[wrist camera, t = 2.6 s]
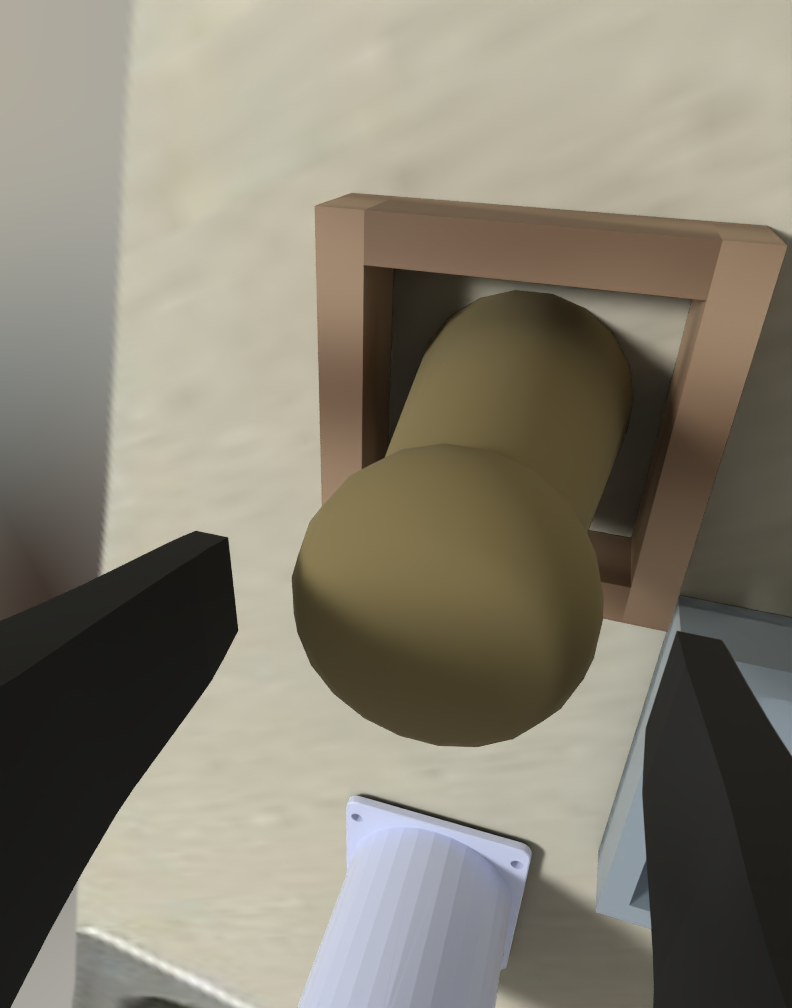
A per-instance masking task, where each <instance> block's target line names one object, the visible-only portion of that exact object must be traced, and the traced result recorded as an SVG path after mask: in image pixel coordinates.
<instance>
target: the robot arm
mask: <svg viewBox="0 0 792 1008" xmlns="http://www.w3.org/2000/svg"><path fill="white" fill-rule="evenodd" d="M237 632H238V624H237V615H236V605H235V596H234V587H233V578H232V569H231V560H230V551H229V542H228V537H223V536H218V535H214V534H209V533H204V532H199V531H194V532H192V533H189V534H187V535H185V536H182V537H180V538H178V539H176V540H173V541H171V542H169V543H167V544H165V545H163V546H161V547H159V548H157V549H155V550H153V551H151V552H149V553H146V554H144V555H142V556H140V557H138V558H136V559H134V560H132V561H130V562H128V563H126V564H124V565H122V566H120V567H118V568H116V569H114V570H112V571H110V572H108V573H106V574H104V575H102V576H100V577H98V578H95V579H93V580H91V581H89V582H87V583H86V584H83V585H81V586H79V587H77V588H75V589H72V590H70V591H68V592H66V593H64V594H61V595H59V596H57V597H54V598H53V599H50V600H48V601H46V602H43V603H41V604H39V605H37V606H34V607H32V608H30V609H27V610H25V611H23V612H21V613H18V614H16V615H14V616H11V617H9V618H7V619H4V620H2V621H0V1008H11V1005H12V1003H13V1001H14V999H15V998H16V996H17V993H18V992H19V990H20V988H21V986H22V984H23V982H24V980H25V978H26V976H27V974H28V972H29V970H30V968H31V967H32V964H33V963H34V961H35V959H36V957H37V955H38V953H39V951H40V949H41V947H42V945H43V943H44V941H45V939H46V937H47V935H48V933H49V932H50V930H51V928H52V926H53V924H54V922H55V921H56V919H57V917H58V915H59V913H60V911H61V910H62V908H63V906H64V904H65V903H66V900H67V899H68V897H69V895H70V893H71V892H72V890H73V888H74V886H75V884H76V883H77V881H78V879H79V877H80V875H81V874H82V872H83V870H84V868H85V867H86V865H87V863H88V862H89V860H90V858H91V856H92V855H93V853H94V851H95V850H96V848H97V846H98V844H99V843H100V841H101V839H102V838H103V836H104V834H105V833H106V831H107V829H108V827H109V826H110V824H111V822H112V821H113V819H114V817H115V816H116V814H117V812H118V811H119V809H120V808H121V806H122V805H123V803H124V802H125V800H126V799H127V798H128V796H129V795H130V793H131V792H132V790H133V789H134V787H135V786H136V784H137V783H138V782H139V780H140V779H141V778H142V776H143V775H144V773H145V772H146V771H147V769H148V768H149V767H150V765H151V764H152V762H153V761H154V760H155V758H156V757H157V756H158V754H159V753H160V752H161V750H162V749H163V747H164V746H165V745H166V743H167V742H168V741H169V739H170V738H171V736H172V735H173V734H174V732H175V731H176V730H177V728H178V727H179V725H180V724H181V723H182V721H183V720H184V719H185V717H186V716H187V714H188V713H189V712H190V710H191V709H192V707H193V706H194V705H195V703H196V702H197V700H198V699H199V698H200V696H201V695H202V693H203V692H204V691H205V689H206V688H207V686H208V685H209V683H210V682H211V681H212V679H213V677H214V675H215V673H216V672H217V670H218V668H219V666H220V664H221V663H222V661H223V659H224V657H225V655H226V653H227V651H228V649H229V647H230V645H231V644H232V642H233V640H234V638H235V636H236V634H237ZM642 799H643V816H644V831H645V846H646V860H647V875H648V889H649V903H650V917H651V931H652V946H653V974H654V1003H653V1008H792V755H791V754H790V752H789V751H788V749H787V748H786V746H785V745H784V743H783V742H782V740H781V738H780V737H779V735H778V734H777V732H776V731H775V729H774V727H773V726H772V724H771V722H770V721H769V719H768V717H767V716H766V714H765V712H764V711H763V709H762V707H761V706H760V704H759V702H758V701H757V699H756V697H755V696H754V694H753V692H752V690H751V689H750V687H749V685H748V684H747V682H746V680H745V678H744V677H743V675H742V673H741V671H740V669H739V668H738V666H737V664H736V662H735V661H734V659H733V657H732V655H731V653H730V652H729V650H728V648H727V647H726V645H725V644H724V642H723V641H722V640H720V639H715V638H710V637H705V636H701V635H696V634H691V633H686V632H681V631H676V635H675V638H674V641H673V644H672V647H671V650H670V653H669V656H668V660H667V663H666V666H665V669H664V672H663V675H662V678H661V681H660V685H659V688H658V691H657V694H656V697H655V700H654V703H653V706H652V710H651V713H650V716H649V719H648V722H647V725H646V729H645V746H644V763H643V785H642ZM531 855H532V852H531V849H530V848H529V847H528V846H527V845H526V844H524V843H521V842H518V841H514V840H511V839H507V838H504V837H500V836H497V835H493V834H490V833H486V832H483V831H479V830H476V829H472V828H469V827H465V826H462V825H458V824H455V823H452V822H448V821H445V820H441V819H438V818H434V817H431V816H427V815H424V814H420V813H417V812H413V811H410V810H406V809H403V808H399V807H396V806H392V805H389V804H385V803H382V802H378V801H375V800H372V799H368V798H365V797H361V796H352V797H351V798H350V799H349V801H348V804H347V875H346V878H345V880H344V883H343V886H342V888H341V891H340V894H339V896H338V899H337V902H336V904H335V907H334V910H333V912H332V915H331V918H330V921H329V923H328V926H327V929H326V931H325V934H324V937H323V939H322V942H321V945H320V947H319V950H318V953H317V956H316V958H315V961H314V964H313V966H312V969H311V972H310V974H309V977H308V980H307V982H306V985H305V988H304V991H303V993H302V996H301V999H300V1001H299V1004H298V1007H297V1008H495V1004H496V997H497V991H498V984H499V978H500V971H501V970H503V969H505V968H506V967H507V962H508V958H509V954H510V949H511V945H512V940H513V936H514V932H515V927H516V923H517V919H518V914H519V910H520V905H521V901H522V897H523V892H524V888H525V883H526V879H527V875H528V870H529V866H530V862H531Z"/></svg>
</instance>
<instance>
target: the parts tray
mask: <svg viewBox="0 0 792 1008" xmlns="http://www.w3.org/2000/svg"><path fill="white" fill-rule="evenodd" d="M676 631H681V632H686V633H691V634H696V635H701V636H705V637H710V638H715V639H720V640H722V641H723V642H724V644H725V645H726V647H727V648H728V650H729V652H730V653H731V655H732V657H733V659H734V661H735V662H736V664H737V666H738V668H739V669H740V671H741V673H742V675H743V677H744V678H745V680H746V682H747V684H748V685H749V687H750V689H751V690H752V692H753V694H754V696H755V697H756V699H757V701H758V702H759V704H760V706H761V707H762V709H763V711H764V712H765V714H766V716H767V717H768V719H769V721H770V722H771V724H772V726H773V727H774V729H775V731H776V732H777V734H778V735H779V737H780V738H781V740H782V742H783V743H784V745H785V746H786V748H787V749H788V751H789V752H790V754H791V755H792V618H791V617H786V616H781V615H776V614H771V613H766V612H761V611H755V610H750V609H745V608H740V607H735V606H730V605H725V604H720V603H715V602H710V601H704V600H699V599H694V598H689V597H684V596H679V597H678V600H677V603H676V606H675V609H674V613H673V616H672V619H671V622H670V626H669V629H668V632H666V635H665V639H664V642H663V645H662V648H661V651H660V655H659V658H658V661H657V664H656V668H655V671H654V674H653V677H652V680H651V684H650V687H649V690H648V693H647V697H646V700H645V703H644V706H643V709H642V713H641V716H640V719H639V722H638V726H637V729H636V732H635V735H634V739H633V742H632V745H631V748H630V751H629V755H628V758H627V761H626V764H625V768H624V771H623V774H622V777H621V780H620V784H619V787H618V790H617V793H616V797H615V800H614V803H613V806H612V809H611V813H610V816H609V819H608V822H607V826H606V829H605V832H604V835H603V839H602V842H601V845H600V848H599V852H598V872H597V891H596V911H595V912H597V913H600V914H603V915H607V916H610V917H613V918H617V919H620V920H623V921H627V922H630V923H633V924H636V925H640V926H643V927H646V928H650V929H651V917H650V903H649V889H648V875H647V860H646V846H645V831H644V816H643V799H642V785H643V763H644V746H645V729H646V725H647V722H648V719H649V716H650V713H651V710H652V706H653V703H654V700H655V697H656V694H657V691H658V688H659V685H660V681H661V678H662V675H663V672H664V669H665V666H666V663H667V660H668V656H669V653H670V650H671V647H672V644H673V641H674V638H675V635H676Z"/></svg>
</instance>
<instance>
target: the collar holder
mask: <svg viewBox="0 0 792 1008" xmlns="http://www.w3.org/2000/svg"><path fill="white" fill-rule="evenodd" d="M315 238H316V279H317V320H318V361H319V403H320V444H321V485H322V506H323V505H324V504H325V503H326V501H327V500H328V499H329V498H330V497H331V496H332V495H333V494H334V493H335V491H336V490H337V489H338V488H339V487H340V486H341V485H342V484H343V482H344V481H345V480H346V479H347V478H348V477H349V476H350V475H352V474H354V473H356V472H358V471H360V470H362V469H364V468H366V467H367V466H369V465H371V464H373V463H375V462H377V461H379V460H381V459H383V458H385V455H386V453H387V450H388V431H389V399H390V367H391V336H392V304H393V272H394V268H397V269H407V270H416V271H426V272H436V273H445V274H455V275H465V276H474V277H484V278H494V279H503V280H513V281H523V282H532V283H542V284H552V285H561V286H571V287H581V288H590V289H600V290H610V291H619V292H629V293H639V294H648V295H658V296H668V297H677V298H687V299H692V301H691V305H690V309H689V313H688V317H687V321H686V325H685V329H684V333H683V337H682V341H681V345H680V349H679V353H678V357H677V361H676V364H675V368H674V372H673V376H672V380H671V384H670V388H669V392H668V396H667V400H666V404H665V408H664V412H663V416H662V420H661V424H660V428H659V432H658V436H657V440H656V444H655V448H654V452H653V456H652V459H651V463H650V467H649V471H648V475H647V479H646V483H645V487H644V491H643V495H642V499H641V503H640V507H639V511H638V515H637V519H636V523H635V527H634V531H633V535H632V538H628V537H622V536H617V535H611V534H606V533H600V532H594V531H589V530H588V532H587V534H588V536H589V538H590V541H591V543H592V546H593V548H594V551H595V553H596V556H597V562H598V567H599V573H600V579H601V584H602V590H603V596H604V603H603V619H608V620H613V621H618V622H623V623H627V624H632V625H637V626H642V627H647V628H651V629H656V630H661V631H666V632H668V629H669V626H670V622H671V619H672V616H673V613H674V609H675V606H676V603H677V600H678V597H679V593H680V590H681V587H682V584H683V581H684V577H685V574H686V571H687V568H688V564H689V561H690V558H691V555H692V552H693V548H694V545H695V542H696V539H697V535H698V532H699V529H700V526H701V523H702V519H703V516H704V513H705V510H706V507H707V503H708V500H709V497H710V494H711V490H712V487H713V484H714V481H715V478H716V474H717V471H718V468H719V465H720V462H721V458H722V455H723V452H724V449H725V445H726V442H727V439H728V436H729V433H730V429H731V426H732V423H733V420H734V416H735V413H736V410H737V407H738V404H739V400H740V397H741V394H742V391H743V388H744V384H745V381H746V378H747V375H748V371H749V368H750V365H751V362H752V359H753V355H754V352H755V349H756V346H757V343H758V339H759V336H760V333H761V330H762V326H763V323H764V320H765V317H766V314H767V310H768V307H769V304H770V301H771V298H772V294H773V291H774V288H775V285H776V281H777V278H778V275H779V272H780V269H781V265H782V262H783V259H784V256H785V252H786V249H787V245H786V244H785V243H784V242H783V241H782V240H781V239H780V238H779V237H778V236H777V235H776V234H775V233H774V232H773V231H772V230H771V229H770V228H769V227H768V226H763V225H750V224H738V223H725V222H712V221H700V220H687V219H674V218H662V217H649V216H636V215H623V214H611V213H598V212H585V211H573V210H560V209H547V208H535V207H522V206H509V205H497V204H484V203H471V202H459V201H446V200H433V199H420V198H408V197H395V196H382V195H370V194H357V193H350V194H347V195H345V196H342V197H339V198H336V199H333V200H330V201H327V202H325V203H322V204H319V205H316V206H315Z"/></svg>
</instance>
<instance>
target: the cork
mask: <svg viewBox="0 0 792 1008" xmlns="http://www.w3.org/2000/svg"><path fill="white" fill-rule="evenodd" d="M633 399H634V398H633V391H632V383H631V376H630V368H629V364H628V362H627V360H626V358H625V356H624V354H623V352H622V351H621V349H620V347H619V345H618V343H617V341H616V339H615V337H614V335H613V334H612V333H611V332H610V331H609V330H608V329H607V328H606V327H605V326H604V325H603V324H602V323H601V322H599V321H598V320H597V319H596V318H595V317H594V316H593V315H592V314H591V313H590V312H589V311H588V310H587V309H585V308H583V307H580V306H578V305H576V304H574V303H571V302H569V301H567V300H565V299H562V298H560V297H558V296H556V295H554V294H548V293H538V292H528V291H518V290H514V291H510V292H505V293H501V294H496V295H492V296H487V297H483V298H480V299H478V300H476V301H475V302H473V303H471V304H470V305H468V306H466V307H464V308H463V309H461V310H459V311H458V312H456V313H454V314H453V315H451V316H450V317H449V318H448V320H447V321H446V322H445V323H444V324H443V325H442V327H441V328H440V329H439V330H438V331H437V332H436V334H435V335H434V336H433V337H432V338H431V340H430V341H429V343H428V346H427V348H426V351H425V353H424V356H423V358H422V361H421V363H420V366H419V369H418V371H417V374H416V376H415V379H414V382H413V384H412V387H411V390H410V392H409V395H408V397H407V400H406V403H405V405H404V408H403V411H402V413H401V416H400V418H399V421H398V424H397V426H396V429H395V432H394V434H393V437H392V440H391V442H390V445H389V447H388V450H387V453H386V455H385V458H383V459H381V460H379V461H377V462H375V463H373V464H371V465H369V466H367V467H366V468H364V469H362V470H360V471H358V472H356V473H354V474H352V475H350V476H349V477H348V478H347V479H346V480H345V481H344V482H343V484H342V485H341V486H340V487H339V488H338V489H337V490H336V491H335V493H334V494H333V495H332V496H331V497H330V498H329V499H328V500H327V501H326V503H325V504H324V505H323V506H322V507H321V509H320V510H319V511H318V512H317V513H316V515H315V516H314V517H313V518H312V520H311V521H310V523H309V525H308V528H307V531H306V534H305V537H304V540H303V543H302V546H301V549H300V552H299V555H298V558H297V561H296V565H295V568H294V572H293V575H292V589H293V606H294V617H295V622H296V627H297V632H298V635H299V637H300V640H301V642H302V644H303V647H304V649H305V652H306V654H307V657H308V659H309V661H310V664H311V666H312V667H313V668H314V669H315V671H316V672H317V673H318V674H319V676H320V677H321V678H322V680H323V681H324V682H325V683H326V685H327V686H328V687H329V688H330V690H331V691H332V692H333V693H334V694H335V695H336V696H337V697H338V698H340V699H341V700H342V701H343V702H345V703H346V704H347V705H348V706H350V707H351V708H352V709H353V710H355V711H356V712H357V713H358V714H360V715H361V716H362V717H364V718H365V719H367V720H369V721H371V722H373V723H375V724H377V725H379V726H381V727H383V728H385V729H387V730H389V731H391V732H393V733H395V734H397V735H399V736H403V737H407V738H410V739H414V740H418V741H422V742H426V743H430V744H434V745H437V746H461V747H480V746H484V745H488V744H493V743H497V742H502V741H506V740H510V739H514V738H516V737H517V736H519V735H521V734H522V733H524V732H526V731H527V730H529V729H531V728H532V727H534V726H536V725H537V724H539V723H541V722H542V721H544V720H545V719H547V718H548V717H550V716H551V715H552V714H554V713H555V712H557V711H558V710H559V709H561V708H562V706H563V705H564V704H565V703H566V701H567V700H568V699H569V697H570V696H571V695H572V693H573V692H574V691H575V689H576V688H577V687H578V686H579V684H580V683H581V682H582V680H583V679H584V677H585V675H586V673H587V671H588V669H589V667H590V665H591V663H592V661H593V659H594V655H595V651H596V646H597V642H598V638H599V634H600V629H601V625H602V621H603V603H604V596H603V590H602V584H601V579H600V573H599V567H598V562H597V556H596V553H595V551H594V548H593V546H592V543H591V541H590V538H589V536H588V534H587V532H588V529H589V527H590V524H591V522H592V519H593V517H594V514H595V511H596V509H597V506H598V504H599V501H600V498H601V496H602V493H603V491H604V488H605V485H606V483H607V480H608V478H609V475H610V473H611V470H612V467H613V465H614V462H615V460H616V457H617V454H618V452H619V449H620V447H621V444H622V441H623V439H624V436H625V434H626V431H627V427H628V422H629V417H630V413H631V408H632V404H633Z"/></svg>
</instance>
